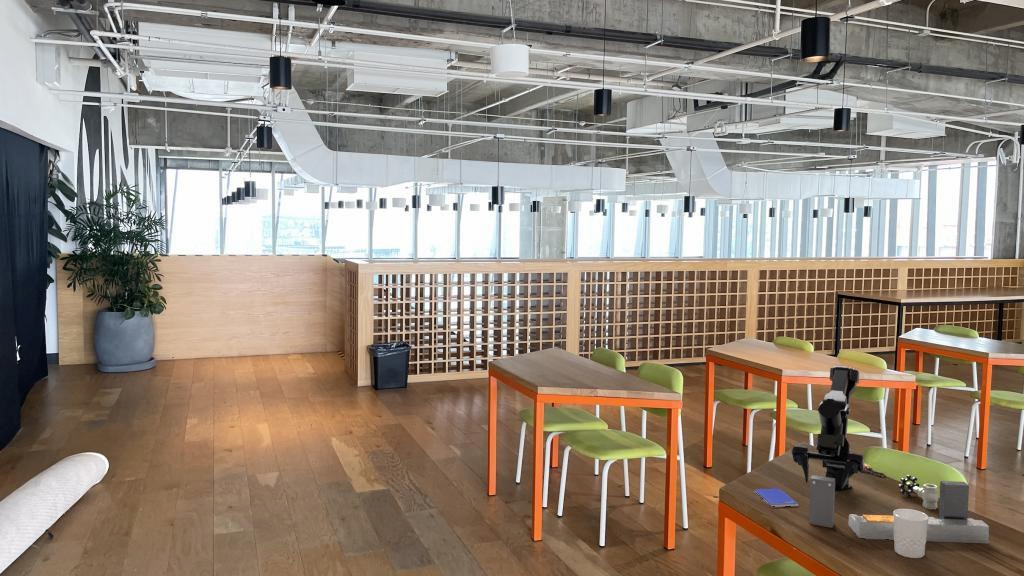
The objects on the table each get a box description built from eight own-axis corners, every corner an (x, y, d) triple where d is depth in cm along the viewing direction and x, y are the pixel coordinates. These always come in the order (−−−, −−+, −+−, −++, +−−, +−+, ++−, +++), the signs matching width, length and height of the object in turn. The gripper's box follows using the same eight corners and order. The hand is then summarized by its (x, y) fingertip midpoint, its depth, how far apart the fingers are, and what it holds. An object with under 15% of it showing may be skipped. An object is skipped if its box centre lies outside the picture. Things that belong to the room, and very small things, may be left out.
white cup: (885, 546, 198) (886, 509, 197) (914, 545, 199) (916, 507, 198) (903, 560, 190) (905, 521, 189) (933, 558, 191) (935, 519, 190)
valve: (945, 509, 223) (916, 494, 235) (946, 487, 222) (917, 473, 234) (924, 511, 222) (897, 496, 234) (925, 488, 221) (898, 475, 233)
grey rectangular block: (810, 519, 216) (812, 475, 215) (833, 524, 213) (835, 478, 212) (808, 524, 213) (810, 478, 212) (832, 528, 210) (833, 482, 209)
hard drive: (798, 502, 226) (779, 488, 238) (771, 503, 225) (754, 489, 238) (798, 508, 226) (779, 493, 239) (771, 509, 226) (754, 494, 238)
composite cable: (887, 478, 250) (887, 470, 250) (875, 479, 249) (875, 472, 249) (865, 468, 260) (865, 461, 260) (853, 470, 259) (854, 463, 258)
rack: (848, 524, 212) (849, 476, 211) (970, 528, 209) (973, 480, 208) (859, 538, 203) (861, 488, 202) (988, 543, 199) (990, 492, 198)
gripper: (793, 417, 222) (785, 465, 214) (864, 426, 213) (858, 476, 204) (797, 437, 230) (790, 484, 221) (866, 446, 221) (861, 495, 212)
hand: (823, 484), depth 215 cm, fingers open, 9 cm apart
